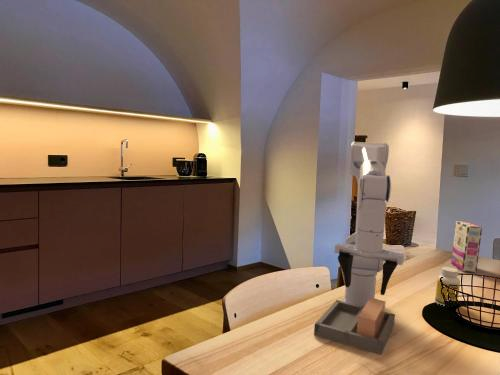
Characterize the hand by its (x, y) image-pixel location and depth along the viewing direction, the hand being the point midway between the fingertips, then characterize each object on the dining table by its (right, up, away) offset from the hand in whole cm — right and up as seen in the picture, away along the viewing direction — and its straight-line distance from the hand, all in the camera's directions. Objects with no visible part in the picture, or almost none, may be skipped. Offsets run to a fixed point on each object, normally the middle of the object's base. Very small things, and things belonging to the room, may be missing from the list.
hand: (365, 289), depth 85 cm
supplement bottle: (+28, -9, +19) cm, 35 cm away
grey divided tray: (-2, -9, +1) cm, 9 cm away
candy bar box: (+52, -7, +54) cm, 76 cm away
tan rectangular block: (+1, -9, -1) cm, 9 cm away
